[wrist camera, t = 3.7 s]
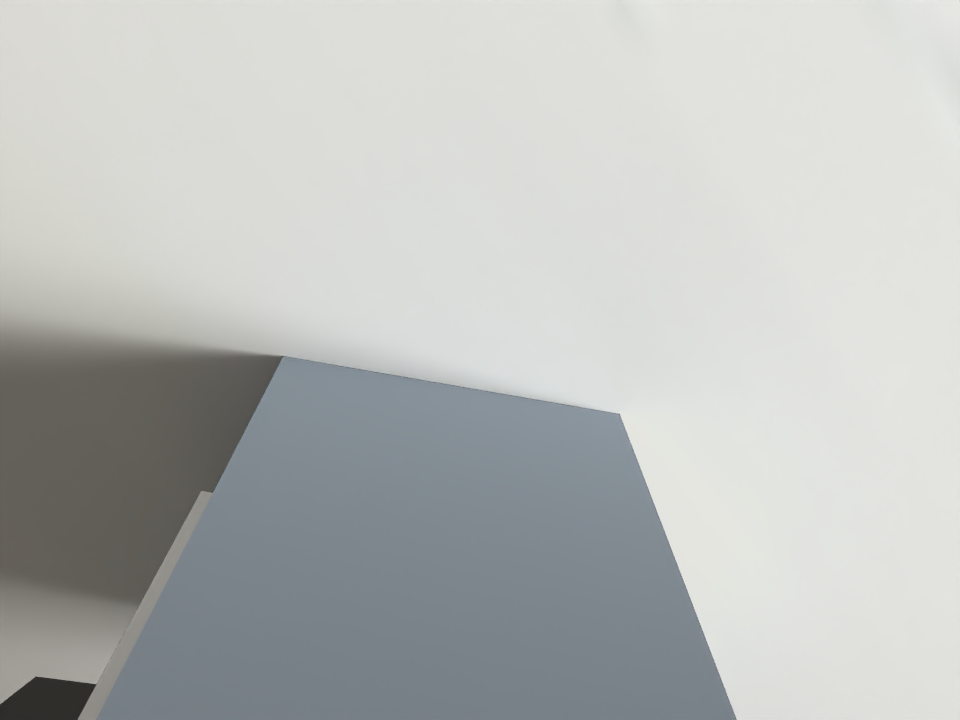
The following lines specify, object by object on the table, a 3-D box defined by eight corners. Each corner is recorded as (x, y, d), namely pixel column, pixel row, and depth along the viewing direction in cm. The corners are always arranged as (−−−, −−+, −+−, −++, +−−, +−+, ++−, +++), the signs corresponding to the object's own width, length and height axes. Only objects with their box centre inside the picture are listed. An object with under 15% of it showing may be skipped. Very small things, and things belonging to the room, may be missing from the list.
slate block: (619, 414, 15) (778, 827, 7) (544, 667, 17) (605, 1173, 10) (283, 356, 14) (85, 740, 7) (252, 626, 16) (80, 1132, 9)
